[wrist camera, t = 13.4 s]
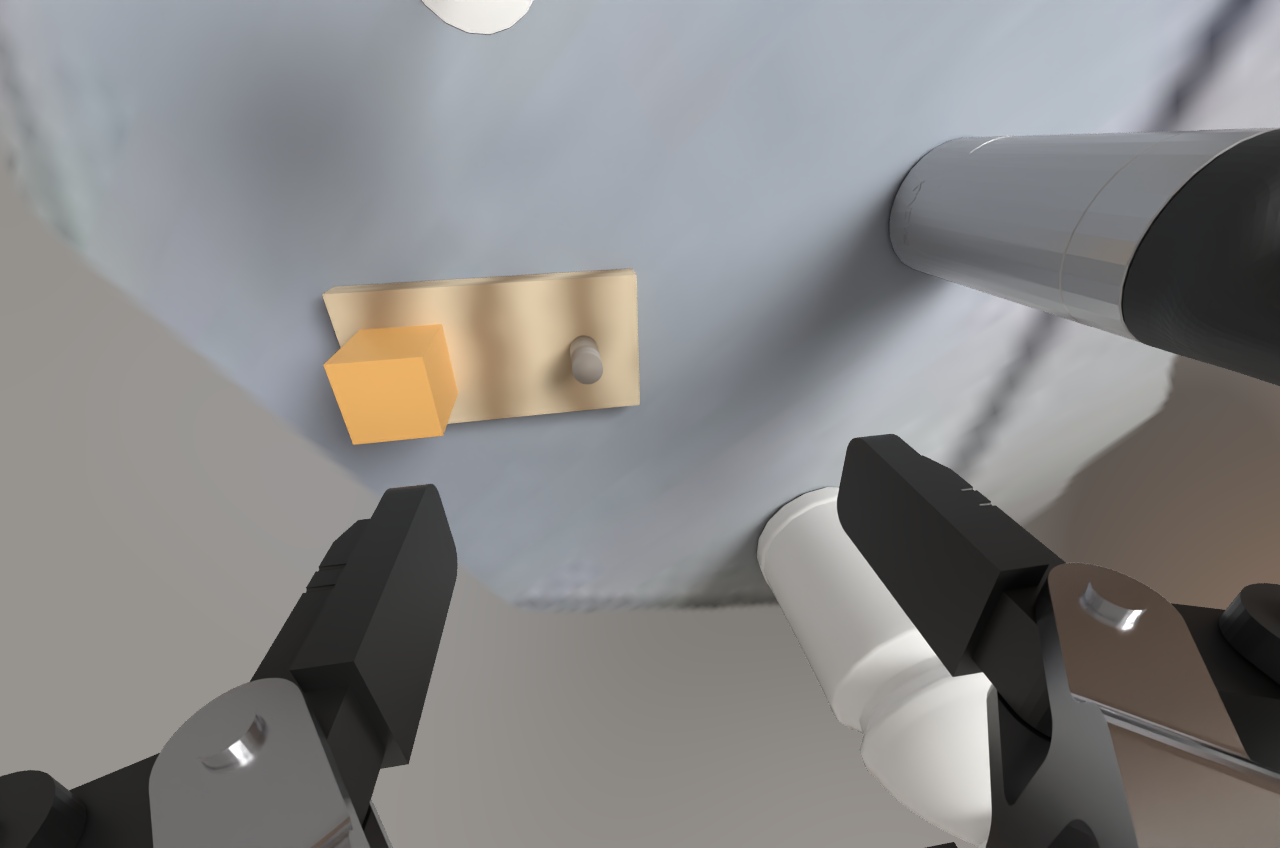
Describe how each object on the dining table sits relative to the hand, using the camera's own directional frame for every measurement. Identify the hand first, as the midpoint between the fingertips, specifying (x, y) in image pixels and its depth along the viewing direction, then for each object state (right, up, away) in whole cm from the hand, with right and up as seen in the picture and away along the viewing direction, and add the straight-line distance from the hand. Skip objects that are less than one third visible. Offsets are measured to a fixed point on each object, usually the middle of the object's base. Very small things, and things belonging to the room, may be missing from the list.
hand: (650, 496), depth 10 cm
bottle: (+19, -11, +42) cm, 47 cm away
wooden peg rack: (-11, +7, +26) cm, 29 cm away
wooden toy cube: (-16, +6, +24) cm, 29 cm away
